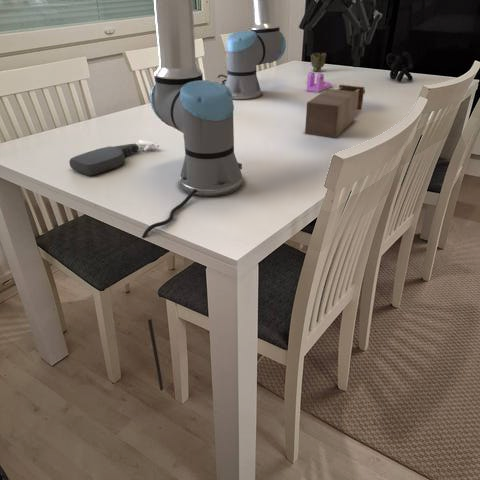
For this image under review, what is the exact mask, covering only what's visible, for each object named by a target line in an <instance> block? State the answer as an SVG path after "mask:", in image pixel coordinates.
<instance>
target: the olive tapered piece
mask: <svg viewBox="0 0 480 480" xmlns="http://www.w3.org/2000/svg"><path fill="white" fill-rule="evenodd" d="M326 59H327V53H326V52H321V53H320V52H313V53H312V55H311V56H310V64H311V67H313V71H314V72H321V71H322V68H323V67H324V66H325V64H326Z"/></svg>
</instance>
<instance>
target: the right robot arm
mask: <svg viewBox="0 0 480 480" xmlns="http://www.w3.org/2000/svg"><path fill="white" fill-rule="evenodd" d="M376 2H377V0H362V3H363V6H364V9H365V12H366V15H367V19H368V21H369V20H370V19H371V18H372V16H373V20H372V22H371V25H370V31H368V32H365V33H363V38H362V45H361V46H360V47H358V51H357V58H356V59H354V60H353V64H352V67H353V68H359V67H360V64H361V58H362V57H364V54H365V48H366V46H369V45H370V44H371V43H372V40H373V37H374V35H375V32H376V29H377V26H378V23H379V21H380V20H381V18H382V17H383V13H382V12H379V11H378V10H377V6H376ZM350 8H351V10H352V12H353V14H354V15H355V17H356V18H357V20H358V22H359V23H360V24H362V23H361V20H360V17H359V14H358V11H357V8H356V3H354V2H353V0H351V5H350ZM252 9H253V25H251V27H250V30H242V31H236V32H233V33H231V34H228V36H227V38H226V46H225V49H226V70H227V71H226V72H227V75H225V74H218V76H217V79H220V77H221V78H225V79H224V80H222V81H221V84H223V85H225V86H227V87H228V88H229V89H230V91H231V93H232V98H233V100H252V99H256V98H259V97H260V96H261V94H262V89H261V86H260V83H259V79H258V76H257V75H258V74H257V66H260V65H264V64H272V63H274V62H276V61H279V60H280V59H281V58H282V57H283V56H284V54H285V51H286V47H287V40H286V37H285V36H284V34H283V33H282V32H281V30H280V25H279V24H278V23H277V21H276V0H252ZM342 17H343V20H344V24H345V35H346V42H347V45H350V46H351V47H352V48H351V50H352V49H353V40H354V34H356V33H357V32H356V30H355V29H354V28H353V30H352V24H351V23H350V21H349V19H348V18H347V16H346V15H345V14H344V12H343V13H342ZM361 26H362V25H361ZM362 28H363V26H362ZM367 33H368V34H367Z"/></svg>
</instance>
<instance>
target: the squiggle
mask: <svg viewBox="0 0 480 480" xmlns="http://www.w3.org/2000/svg"><path fill="white" fill-rule="evenodd" d="M401 57H402V59H401ZM391 59H392V60H391ZM393 60H394V61H393ZM385 61H386V64H387V67H390V68H391V70H390V72H389V78H390V79H391V80H395V79H396V81H397V82H399V83H400V82H402V81H403V79H404V76H406V78H407V80H408V81H412V80H413V79H414V77H413V75H412V74H411V73H410V72H409V71H410V70H412V69H413V68H414V64H413V61H412V57H411V54H410V53H409V52H408V51H403V53H402V54H401V55H396V54H394V53H392V52H390V53H387V55H386V57H385ZM406 62H407V65H408V66H407V67H405V66H404V65H405V64H406ZM400 70H401V71H400Z"/></svg>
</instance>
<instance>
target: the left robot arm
mask: <svg viewBox="0 0 480 480" xmlns="http://www.w3.org/2000/svg"><path fill="white" fill-rule="evenodd" d="M318 2H320V0H310V2H309V4H308V6H307V8H306V10H305V12H304V14H303V16H302V19H301V21H300V23H299V25H298V29H300V30H303V31H304V44H306V57H311V55H312V54H313V47H314V33H315V31H314V30H313V28H314V27H315V26H316V25H317V23H318V22H319V21H320V20H321V18H322V17H323V16H324V15H325V13H326V12H330V13H331V12H337V13H340V12H343V13H344V14H345V15H346V16H347V18H348V19H349V21H350V23H351V27H353V30H354V29H355V30H356V32H357V33H356V34H354V40H353V49H352V48H351V60H353V61H354V59H356V58H357V51H358V47H360V46H361V45H362V38H363V33H365V32H367V33H369V31H370V28H371V25H370V22H369V20H368V19H367V15H366V12H365V9H364V6H363V3H362V0H353V2H354V3H356V8H357V11H358V14H359V17H360V20H361V23H359V22H358V20H357V18H356V17H355V15H354V14H353V12H352V10H351V8H350V7H351V5H350V3H351V2H352V0H321V2H322V3H323V4H322V6H321V7H320V8H319V10H318V11H317V12H316V13H315V15H314V17H313V18H311V17H312V14H313V12H314V11H315V8H316V7H317V5H318ZM193 4H194V3H193V0H153V6H154V14H155V15H154V17H155V26H156V27H155V28H156V38H157V48H158V58H159V66H158V68H157V69H156V70H155V71H154V72H153V73H154V74H153V75H154V85H153V86H152V87H151V90H150V96H149V102H150V105H151V109H152V111H153V113H154V114H155V116H156V117H157V118H158V119H159V120H160V121H161V122H162V123H164V124H165V125H166V126H169V127H171V128H174V129H175V130H177V131H178V132H180V133H182V134H183V141H184V142H183V143H184V154H185V155H184V158H183V164H182V168H181V171H180V176H179V183H180V184H179V185H180V188H181V189H182V191H184V192H186V193H187V194H188V195H187V196H186V197H185V199H184V200H183V201H181V203H179V204H177V205H176V206H175V207H173V208H172V209H171V210H170V213H169V217H168V218H167V219H165V220H163V221H159V222H156V223H153V224H151V225H149V226H148V227H147V228H146V229H145V230H144V232H143V234H142V236H141V239H145V238H147V236H148V234H149V233H150V231H152V230H153V229H155V228H159V227H162V226H165V225H168V224H170V222H172V221H173V218H174V216H175V215H174V214H175V213H176V212H177V211H178V210H180V209H181V208H183V207H184V206H185V205H186V204H187V203H188V202H189V200H190V199H192V197H193V196H199V197H221V196H224V195H229V194H232V193H234V192H235V191H237V190H239V189H240V188H241V187H242V185H243V174H242V171H241V170H243V163H242V162H241V163H240V162H238V160H237V157H236V154H235V132H234V131H235V130H234V127H235V126H234V110H235V105H234V99H233V98H232V93H231V91H230V89H229V88H228V87H227V86H225V85H224V84H222V82H219V81H211V80H204V77H203V74H204V73H203V70H201V69H200V68H199V67H198V66H197V63H196V61H197V59H196V43H195V24H194V21H195V20H194V5H193ZM310 18H311V20H310ZM362 26H363V28H362ZM147 323H148V329H149V335H150V339H151V344H152V346H151V347H152V351H153V355H154V360H155V367H156V372H157V377H158V378H157V380H158V385H159V390H160V391H163V390H164V385H163V379H162V372H161V365H160V360H159V355H158V350H157V343H156V339H155V332H154V326H153V321H152V318H150V319H148V320H147Z"/></svg>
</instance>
